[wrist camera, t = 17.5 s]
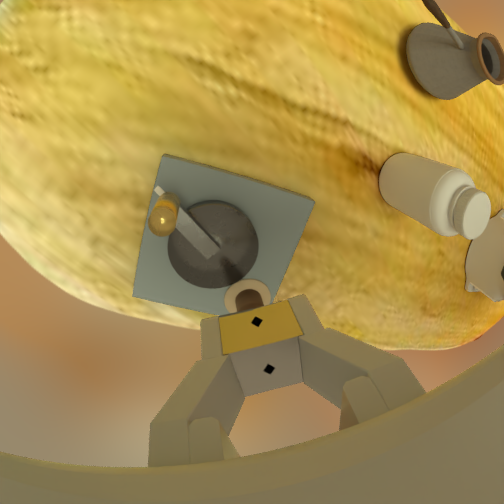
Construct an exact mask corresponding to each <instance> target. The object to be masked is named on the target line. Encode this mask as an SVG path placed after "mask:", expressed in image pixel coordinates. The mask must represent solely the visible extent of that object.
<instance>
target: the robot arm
mask: <svg viewBox="0 0 504 504" xmlns="http://www.w3.org/2000/svg"><path fill="white" fill-rule="evenodd" d="M465 270H466V277H467V279H466V284H465V290H467V291H468V292H478V291H481V292H482V293H483V294H485V295H486V296H487V297H488V298H490V299H491V300H492V301H494V302H496V301H501V300H504V209H502V210H501V211H500V212H499V213H498V214H497V215H496V216H495V217H493V218H491V219H489V221H488V224H487V226H486V228H485V230H484V231H483V232H482V234H481V235H480V236H478V237H477V238H475V239H473V241H472V243H471V245H470V248H469V251H468V254H467V258H466V266H465ZM200 326H201V349H202V350H201V352H202V360H200V361H196V363H195V364H194V366H193V367H192V368H191V370H190V371H189V372H188V374H187V375H186V376H185V378H184V379H183V381H182V382H181V383H180V385H179V386H178V387H177V389H176V390H175V391H174V393H173V394H172V395H171V397H170V398H169V399H168V401H167V402H166V403H165V405H164V406H163V407H162V409H161V410H160V411H159V413H158V414H157V415H156V417H155V418H154V419H153V420H152V422H151V423H150V437H149V457H148V467H98V466H84V465H73V464H64V463H56V462H50V461H42V460H37V459H32V458H27V457H21V456H17V455H13V454H8V453H4V452H0V504H504V344H503V345H502V346H501V347H499V348H498V349H497V350H495V351H494V352H492V353H491V354H489V355H488V356H487V357H485V358H484V359H482V360H481V361H479V362H478V363H476V364H475V365H473V366H472V367H470V368H469V369H467V370H466V371H464V372H462V373H461V374H459V375H457V376H456V377H454V378H452V379H451V380H449V381H447V382H445V383H444V384H442V385H440V386H439V387H436V388H435V389H433V390H431V391H429V392H427V393H426V392H425V390H424V389H423V387H422V386H421V385H420V383H419V382H418V380H417V379H416V377H415V376H414V374H413V373H412V372H411V370H410V369H409V367H408V366H407V364H406V363H405V362H404V360H403V359H402V358H400V357H398V356H395V355H393V354H390V353H388V352H385V351H383V350H381V349H378V348H376V347H374V346H371V345H369V344H366V343H364V342H362V341H359V340H357V339H355V338H352V337H350V336H348V335H345V334H343V333H341V332H339V331H336V330H334V329H332V328H326V329H324V327H323V326H322V324H321V322H320V320H319V318H318V317H317V315H316V313H315V311H314V309H313V308H312V306H311V304H310V302H309V301H308V299H307V297H306V295H304V294H302V295H299V296H296V297H292V298H289V299H287V300H284V301H280V302H277V303H273V304H269V305H265V306H261V307H257V308H254V309H253V308H252V309H248V310H243V311H239V312H234V313H230V314H225V315H220V316H216V317H212V318H207V319H202V320H201V323H200ZM301 382H304V384H306V385H307V386H309V387H310V388H311V389H313V390H314V391H316V392H317V393H318V394H320V395H321V396H323V397H324V398H325V399H327V400H328V401H330V402H331V403H333V404H334V405H335V406H337V407H338V408H340V409H341V416H340V426H339V431H337V432H335V433H332V434H329V435H326V436H322V437H319V438H316V439H313V440H310V441H306V442H303V443H299V444H296V445H292V446H288V447H284V448H281V449H276V450H272V451H268V452H263V453H259V454H254V455H249V456H244V457H240V455H239V454H238V452H237V451H236V449H235V447H234V446H233V444H232V442H231V441H230V439H229V437H228V436H229V433H230V431H231V429H232V427H233V425H234V423H235V420H236V418H237V416H238V414H239V411H240V409H241V407H242V404H243V402H244V400H245V397H246V396H250V395H254V394H258V393H262V392H265V391H269V390H273V389H276V388H281V387H285V386H289V385H293V384H297V383H301Z"/></svg>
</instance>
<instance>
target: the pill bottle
mask: <svg viewBox="0 0 504 504" xmlns="http://www.w3.org/2000/svg"><path fill="white" fill-rule="evenodd" d="M379 188H380V192H381V194H382V197H383V198H384V200H385V201H386V202H387V203H388V204H389V205H391V206H392V207H394V208H396V209H397V210H399V211H401V212H403V213H404V214H406V215H408V216H410V217H411V218H413V219H415V220H416V221H418V222H420V223H421V224H423V225H425V226H426V227H428V228H430V229H431V230H433V231H435V232H436V233H438V234H440V235H442V236H455V235H457V234H460V235H462V236H463V237H465V238H467V239H470V240H471V239H475V238H477V237H478V236H480V235H481V234H482V232H483V231H484V230H485V228H486V226H487V224H488V221H489V218H490V213H491V204H490V199H489V197H488V196H487V194H486V193H485V192H483V191H480V190H478V189H476V188H475V185H474V182H473V180H472V179H471V177H470V176H469V175H468V174H467V173H466V172H464V171H463V170H461V169H458V168H455V167H452V166H449V165H446V164H443V163H440V162H436V161H433V160H430V159H427V158H423V157H420V156H416V155H413V154H409V153H398V154H395V155H393V156H392V157H390V158H389V159H388V160H387V161H386V162H385V164H384V165H383V167H382V170H381V172H380V177H379Z"/></svg>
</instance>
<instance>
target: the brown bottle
mask: <svg viewBox="0 0 504 504" xmlns="http://www.w3.org/2000/svg"><path fill="white" fill-rule="evenodd" d="M235 304H236V309H237V312H239V311H243V310H248V309H252V308H253V309H254V308H257V307H261V306H264V304H263V301H262V298H261V295H260V293H259V292H258V291H256V290H253V289H246V290H243V291H241V292H240V293H238V295H237V296H236V299H235Z"/></svg>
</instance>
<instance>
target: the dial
mask: <svg viewBox="0 0 504 504" xmlns="http://www.w3.org/2000/svg"><path fill="white" fill-rule="evenodd" d="M148 227H149V229H150V231H151V232H152V233H153V234H155V235H157V236H160V237H164V236H168V235H169V239H168V247H167V248H168V256H169V260H170V263H171V265H172V267H173V268H174V270H175V271H176V273H177V274H178V275H179V276H180V277H181V278H183V279H184V280H185V281H187V282H188V283H190V284H192V285H195V286H198V287H202V288H209V289H216V288H223V287H227V286H230V285H232V284H234V283H236V282H238V281H239V280H241V279H242V278H243V277H245V276H246V275H247V274H248V273H249V271H250V270H251V269H252V267H253V266H254V264H255V262H256V259H257V256H258V250H259V242H258V237H257V233H256V231H255V228H254V226H253V224H252V222H251V220H250V219H249V217H248V216H247V215H246V214H245V213H244V212H243V211H242V210H241V209H240V208H238V207H237V206H235V205H233V204H231V203H228V202H225V201H220V200H207V201H202V202H198V203H196V204H193V205H191V206H190V207H188V208H185V207H184V206H183V205H182V204H181V203H180V199H179V197H178V196H177V195H176V194H175V193H173V192H165V193H163V194H161V195H160V197H159V198H158V200H157V202H156V204H155V206H154V208H153V210H152V212H151V214H150V216H149V218H148Z"/></svg>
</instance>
